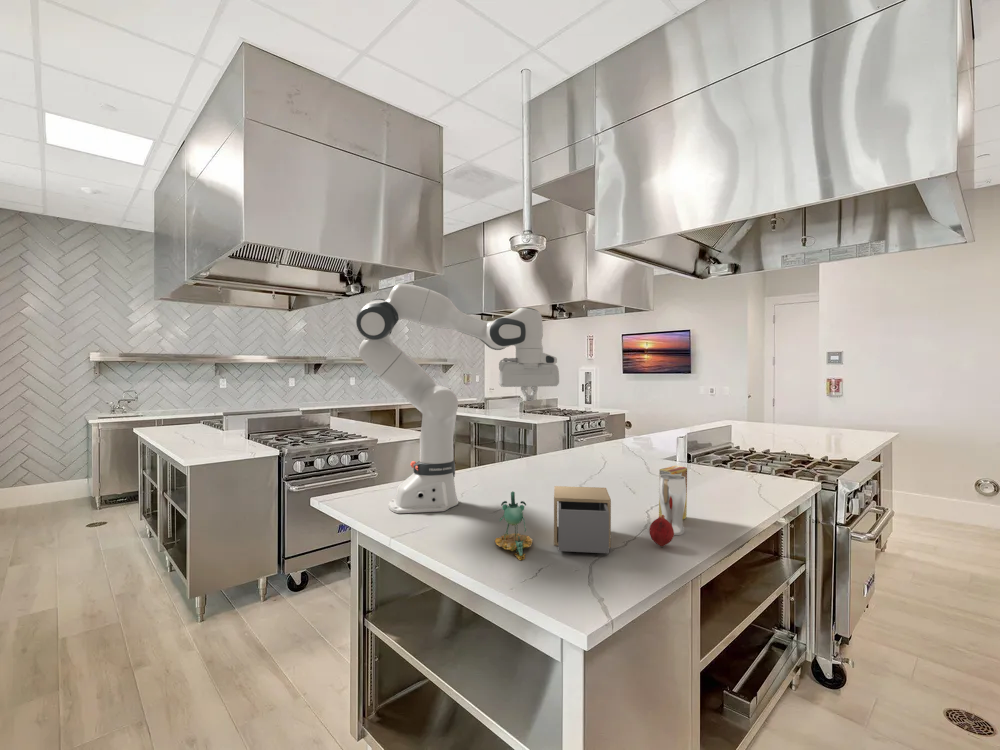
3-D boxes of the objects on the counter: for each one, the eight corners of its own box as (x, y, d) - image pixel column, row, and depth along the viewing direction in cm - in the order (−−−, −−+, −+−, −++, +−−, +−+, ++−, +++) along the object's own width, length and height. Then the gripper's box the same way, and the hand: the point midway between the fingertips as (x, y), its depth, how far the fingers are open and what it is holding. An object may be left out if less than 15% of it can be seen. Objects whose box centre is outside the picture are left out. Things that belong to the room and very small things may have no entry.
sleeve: (554, 529, 130) (554, 486, 130) (605, 531, 128) (606, 487, 128) (553, 545, 118) (554, 497, 118) (610, 548, 117) (610, 499, 116)
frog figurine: (490, 561, 109) (489, 496, 111) (497, 541, 127) (497, 485, 128) (531, 562, 108) (530, 496, 110) (533, 542, 126) (532, 485, 128)
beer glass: (689, 531, 129) (690, 476, 128) (679, 537, 123) (679, 481, 123) (665, 525, 133) (665, 472, 133) (654, 531, 128) (654, 476, 128)
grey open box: (558, 523, 132) (558, 488, 132) (601, 525, 130) (601, 490, 130) (558, 550, 112) (558, 509, 112) (608, 553, 110) (608, 511, 110)
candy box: (674, 515, 143) (674, 464, 143) (687, 518, 139) (687, 467, 139) (658, 521, 137) (658, 468, 137) (671, 524, 134) (671, 471, 134)
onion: (670, 552, 113) (670, 519, 113) (646, 548, 117) (646, 515, 116) (675, 545, 118) (676, 513, 118) (652, 540, 121) (652, 509, 121)
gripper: (502, 357, 146) (502, 402, 146) (561, 358, 153) (561, 400, 153) (495, 358, 152) (495, 400, 152) (552, 358, 159) (552, 399, 159)
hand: (529, 400), depth 153 cm, fingers closed
